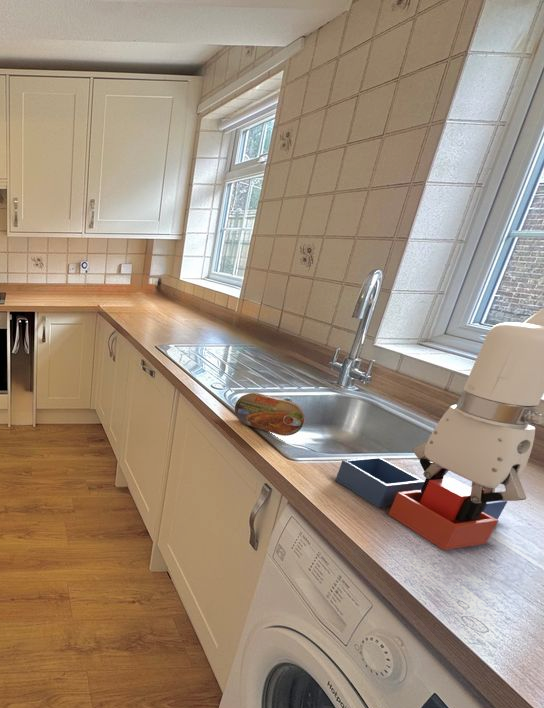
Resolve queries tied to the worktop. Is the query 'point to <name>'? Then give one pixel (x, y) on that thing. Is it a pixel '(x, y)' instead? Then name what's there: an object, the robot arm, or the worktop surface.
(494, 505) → the blue block
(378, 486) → the blue bin
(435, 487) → the red block
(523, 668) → the worktop surface
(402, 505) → the red bin
